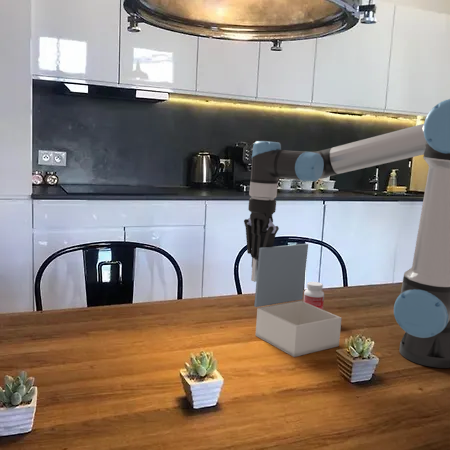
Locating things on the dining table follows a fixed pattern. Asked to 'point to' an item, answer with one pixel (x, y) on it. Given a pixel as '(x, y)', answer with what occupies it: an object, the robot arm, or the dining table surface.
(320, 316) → the box
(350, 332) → the dining table surface
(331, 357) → the dining table surface
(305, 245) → the lid
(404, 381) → the dining table surface
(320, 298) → the pill bottle
